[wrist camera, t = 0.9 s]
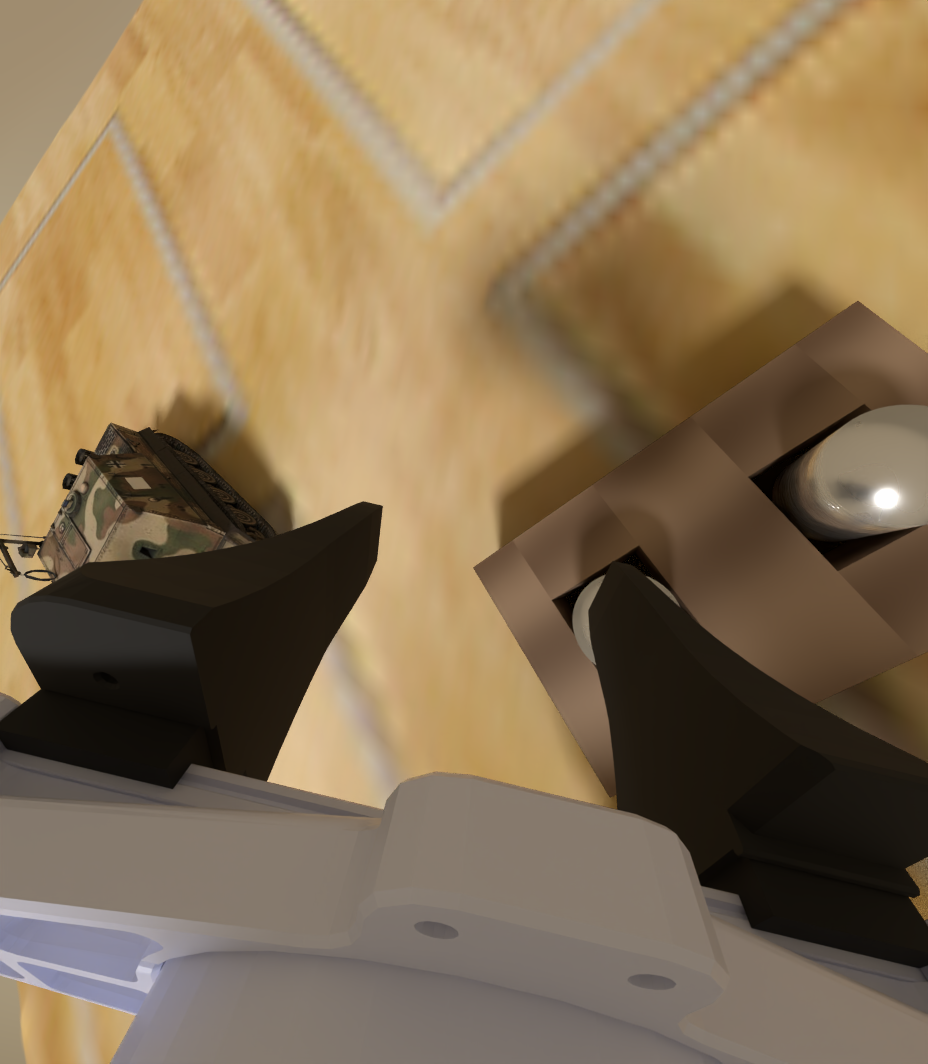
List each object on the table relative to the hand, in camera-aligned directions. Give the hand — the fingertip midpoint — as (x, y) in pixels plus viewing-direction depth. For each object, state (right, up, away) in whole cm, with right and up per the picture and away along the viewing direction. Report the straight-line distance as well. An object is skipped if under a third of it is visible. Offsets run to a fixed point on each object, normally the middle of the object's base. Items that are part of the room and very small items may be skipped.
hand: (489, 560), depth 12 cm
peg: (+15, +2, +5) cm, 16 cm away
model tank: (-26, 0, +26) cm, 37 cm away
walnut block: (+12, -1, +9) cm, 15 cm away
